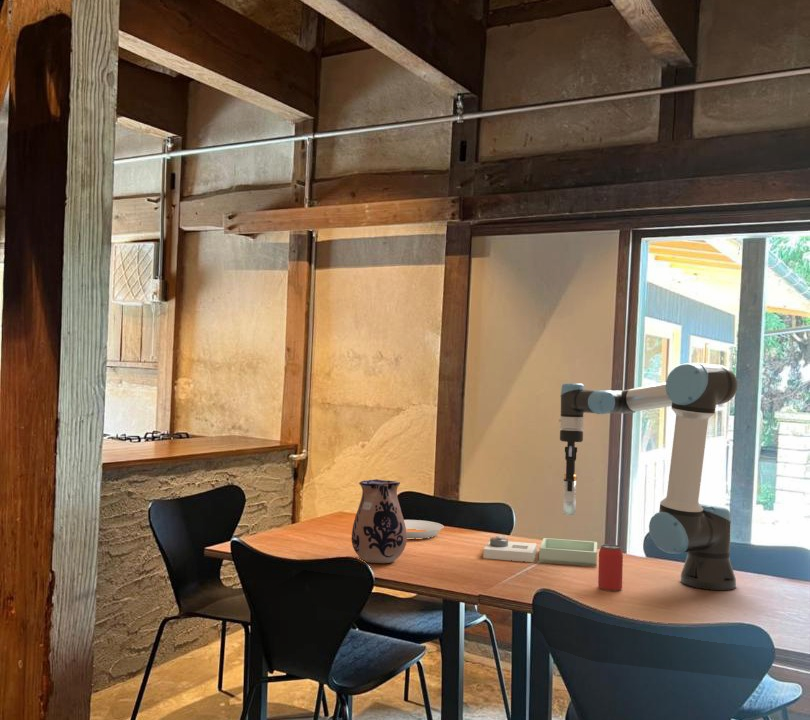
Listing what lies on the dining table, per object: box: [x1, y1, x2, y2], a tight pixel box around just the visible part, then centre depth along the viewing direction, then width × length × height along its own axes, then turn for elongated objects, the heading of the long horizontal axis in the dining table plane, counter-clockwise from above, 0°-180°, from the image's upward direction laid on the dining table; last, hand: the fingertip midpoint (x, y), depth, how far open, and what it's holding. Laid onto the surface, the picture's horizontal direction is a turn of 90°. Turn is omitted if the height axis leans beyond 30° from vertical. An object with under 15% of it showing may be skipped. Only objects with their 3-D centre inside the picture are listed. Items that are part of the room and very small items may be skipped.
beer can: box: [597, 543, 624, 592], centre depth 224 cm, size 7×7×12 cm
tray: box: [538, 537, 598, 567], centre depth 262 cm, size 18×18×4 cm
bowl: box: [404, 519, 444, 539], centre depth 296 cm, size 25×25×4 cm
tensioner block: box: [482, 535, 538, 563], centre depth 265 cm, size 16×16×6 cm
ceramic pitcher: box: [351, 478, 408, 564], centre depth 253 cm, size 18×21×25 cm
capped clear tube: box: [562, 473, 578, 516], centre depth 263 cm, size 4×4×13 cm
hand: (569, 500), depth 263 cm, fingers closed on capped clear tube, 4 cm apart
